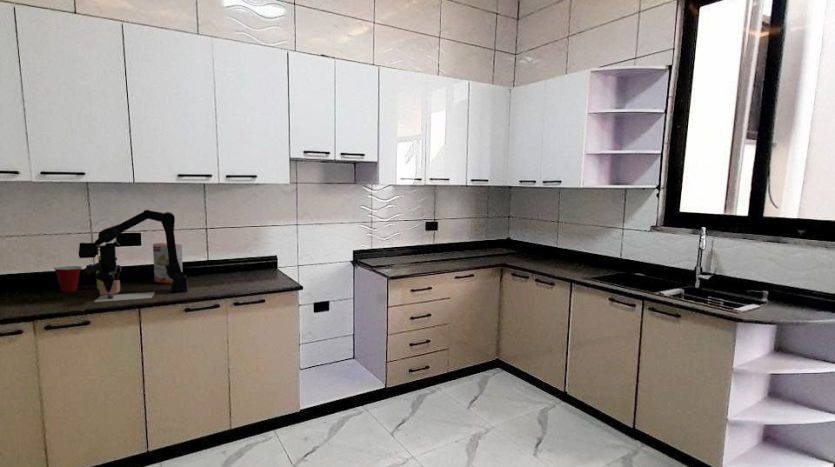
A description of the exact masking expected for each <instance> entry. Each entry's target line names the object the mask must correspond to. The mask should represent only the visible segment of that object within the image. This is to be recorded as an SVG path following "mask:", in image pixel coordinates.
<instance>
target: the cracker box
mask: <svg viewBox="0 0 835 467" xmlns="http://www.w3.org/2000/svg"><path fill="white" fill-rule="evenodd" d="M175 245H176V253H177V259H178V262H179V265H180V268H181V271H182V272H183V273H184V271H183V268H184V267H183V249H182V244H178V243H175ZM152 254H153V270H154V271H153V272H154V282H155V283H162V284H166V285H167V284H168V285H172V282H173V279H171V278H169V276H168V274H166V272H167V270H166V267H165V266H166V264H169V257H168V249H167V242H158V243H153V244H152Z"/></svg>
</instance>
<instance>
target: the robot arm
mask: <svg viewBox="0 0 835 467" xmlns="http://www.w3.org/2000/svg"><path fill="white" fill-rule="evenodd" d="M146 220H152V221H156V222H161V224H162V227H163V231H164V234H165V238H166V242H165V243H167V249H168V257H169V264H166V266H165V267H166V270H167V272H166V274H168V276H169V278H171V279H173V282H172V284H170V290H171V294H182V293H188V291H189V290H188V288H189V283H188V278H187V274H186V273H184V271H183V272H182V271H181V268H180V265H179V262H178V259H177V253H176V245H175V244H176V239H175V220H176V218H175V214H173V213H172V212H170V211H165V212H161V211H160V212H159V211H153V210H150V209H144V210H143V211H141V212H139V213H138V214H136V215H135V216H133V217H131V218H129V219H127V220H124V221H123V222H121V223H119V224H116V225H112V226H110V227H106V228H104V229H102V230H101V231H99V233H98V236H97V239H96V240H95V241H94V242H80V243H79V246H78V257H79V259H88V258H89V259H91V258H96V257H97V256H100V260H99V262H96V263H94V264H92V263H90V264H87V265H86V266H85V267H84V269H85V270H84V271H85V272H86V274H87V275H91V274H93V273H95V280H97V279H98V280H101V281H102V282H103V283H104V286H105V288H106V291H107V292H110V291H111V288H112V285H113V282H114V280H119V277H120V274H121V272H122V270H123V269H122V266H121V265H120V264H117V261H118V257H117V255H116V254H117V253H116V248H117V247H120V246H121V244H120V243H119V242H117V241H116V240H115V239H116V238H117V237H118V236H120V235H121V234H122V233H124V232H126V231H127V230H129V229H131V228H133V227H135V226H137V225H140V224H141V223H142V222H145V221H146ZM113 240H114V241H113ZM112 241H113V242H112ZM104 243H105V244H104ZM102 244H104V245H102ZM99 249H100V251H99ZM98 270H99V272H98V273H97V274H96V271H98Z"/></svg>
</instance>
